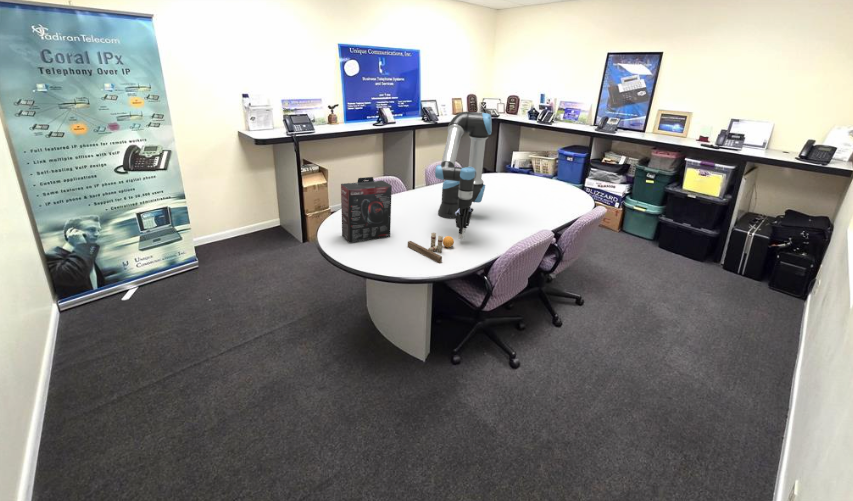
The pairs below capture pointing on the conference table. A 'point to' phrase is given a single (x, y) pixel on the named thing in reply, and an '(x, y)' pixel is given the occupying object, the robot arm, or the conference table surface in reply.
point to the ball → (448, 241)
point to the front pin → (434, 248)
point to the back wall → (425, 251)
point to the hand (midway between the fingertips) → (461, 238)
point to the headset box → (366, 210)
